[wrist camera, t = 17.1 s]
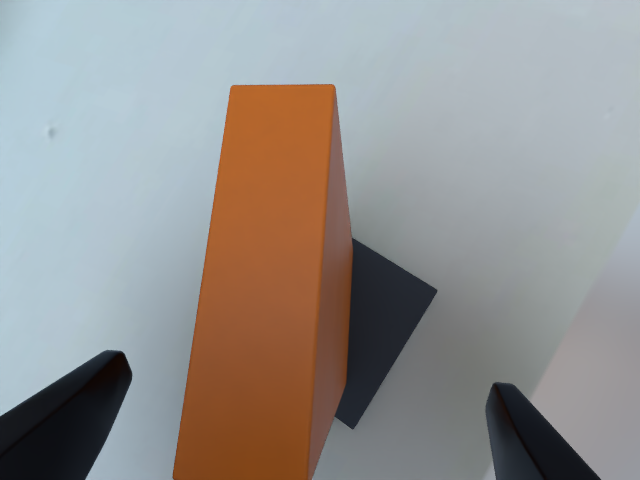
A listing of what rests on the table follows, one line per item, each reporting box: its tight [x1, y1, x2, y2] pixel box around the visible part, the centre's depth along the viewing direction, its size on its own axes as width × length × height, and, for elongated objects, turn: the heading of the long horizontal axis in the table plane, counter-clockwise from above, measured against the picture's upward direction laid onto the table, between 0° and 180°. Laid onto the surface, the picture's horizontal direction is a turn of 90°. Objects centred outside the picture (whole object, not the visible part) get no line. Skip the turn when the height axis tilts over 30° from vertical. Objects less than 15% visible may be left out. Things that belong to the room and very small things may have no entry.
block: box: [173, 84, 353, 480], centre depth 11 cm, size 2×6×12 cm, turn 176°
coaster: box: [335, 238, 437, 429], centre depth 17 cm, size 7×7×1 cm
